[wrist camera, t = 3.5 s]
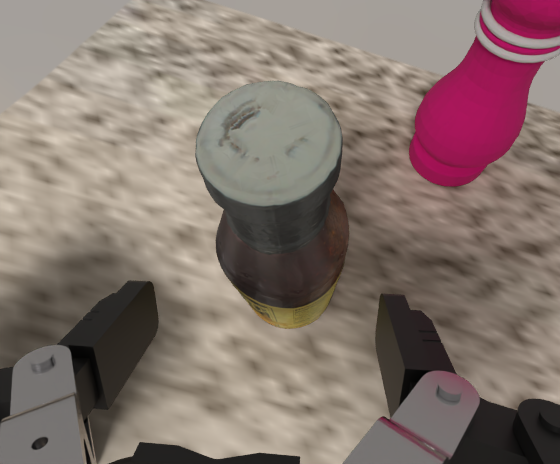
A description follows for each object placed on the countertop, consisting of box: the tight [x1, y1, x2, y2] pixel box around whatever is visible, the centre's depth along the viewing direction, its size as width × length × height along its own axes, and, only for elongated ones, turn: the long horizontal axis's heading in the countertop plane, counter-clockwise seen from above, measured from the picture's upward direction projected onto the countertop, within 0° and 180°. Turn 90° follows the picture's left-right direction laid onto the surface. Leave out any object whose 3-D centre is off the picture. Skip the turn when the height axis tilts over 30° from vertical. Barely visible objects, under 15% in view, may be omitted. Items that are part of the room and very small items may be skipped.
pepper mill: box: [409, 0, 560, 186], centre depth 23 cm, size 7×7×20 cm
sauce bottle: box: [195, 81, 349, 329], centre depth 19 cm, size 6×6×20 cm
